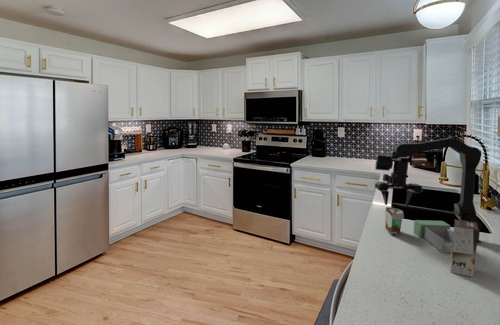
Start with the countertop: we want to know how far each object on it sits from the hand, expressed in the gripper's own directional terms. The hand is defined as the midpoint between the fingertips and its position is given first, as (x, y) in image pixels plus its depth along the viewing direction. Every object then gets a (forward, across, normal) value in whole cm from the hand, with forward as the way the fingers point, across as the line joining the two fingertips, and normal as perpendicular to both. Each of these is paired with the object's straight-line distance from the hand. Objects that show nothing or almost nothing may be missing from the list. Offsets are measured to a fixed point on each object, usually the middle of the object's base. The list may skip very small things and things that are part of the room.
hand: (396, 205), depth 134 cm
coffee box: (+12, -8, +35) cm, 38 cm away
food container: (+13, 0, +1) cm, 13 cm away
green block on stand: (+12, -14, +12) cm, 22 cm away
